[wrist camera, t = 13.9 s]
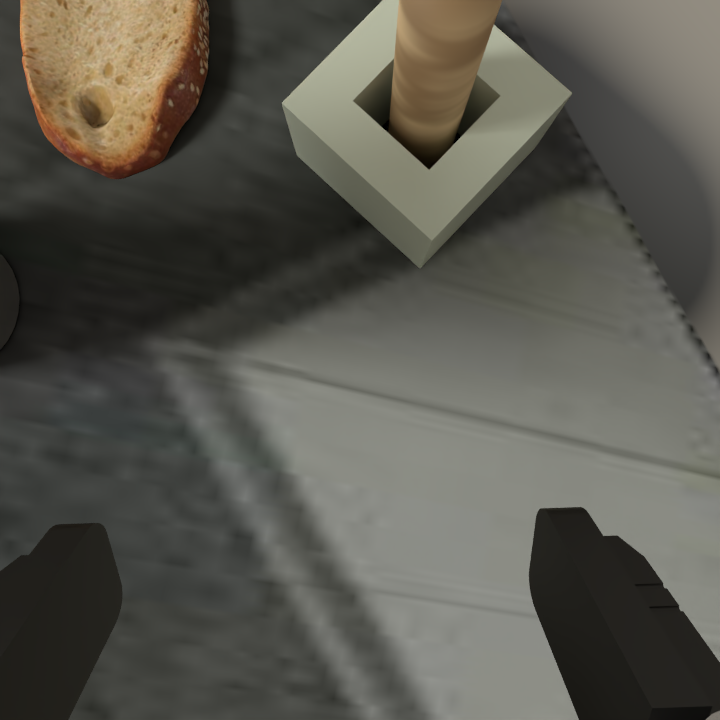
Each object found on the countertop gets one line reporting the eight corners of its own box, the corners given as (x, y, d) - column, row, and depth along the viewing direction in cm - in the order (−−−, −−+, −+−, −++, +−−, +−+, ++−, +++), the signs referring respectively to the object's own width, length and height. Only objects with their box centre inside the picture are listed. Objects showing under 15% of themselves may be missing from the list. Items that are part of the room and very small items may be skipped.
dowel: (374, 154, 33) (378, -19, 19) (415, 111, 33) (450, -92, 19) (418, 195, 33) (456, 50, 19) (460, 152, 33) (528, -25, 19)
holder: (297, 155, 33) (281, 103, 27) (411, 38, 34) (421, -39, 28) (420, 268, 33) (431, 240, 27) (535, 147, 33) (572, 93, 27)
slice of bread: (90, -147, 35) (58, -211, 32) (295, -3, 34) (287, -51, 31) (-74, 52, 34) (-128, 10, 31) (131, 205, 34) (102, 181, 30)
